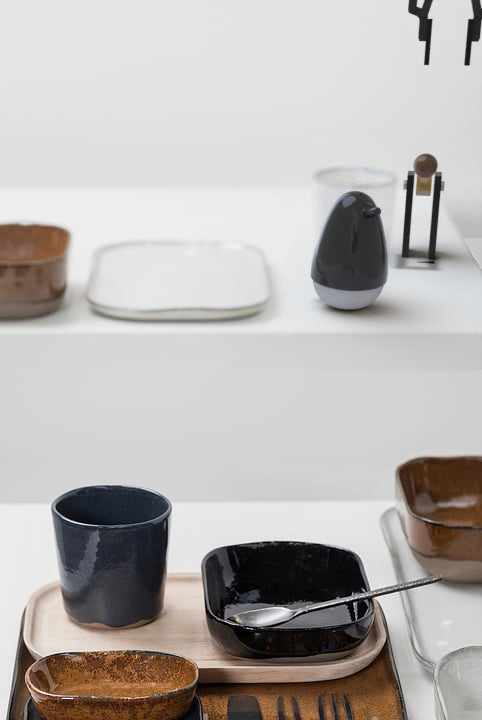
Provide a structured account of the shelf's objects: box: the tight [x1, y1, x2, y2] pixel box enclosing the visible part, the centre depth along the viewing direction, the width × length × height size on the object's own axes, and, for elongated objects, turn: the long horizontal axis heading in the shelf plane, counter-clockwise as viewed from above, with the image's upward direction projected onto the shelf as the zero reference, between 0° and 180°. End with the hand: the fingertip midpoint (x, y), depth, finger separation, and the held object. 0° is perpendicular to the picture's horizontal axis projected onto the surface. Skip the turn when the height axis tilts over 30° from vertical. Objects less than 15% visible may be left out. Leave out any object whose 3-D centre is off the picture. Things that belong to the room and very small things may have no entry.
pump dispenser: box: [310, 190, 389, 311], centre depth 143 cm, size 10×10×15 cm
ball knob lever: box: [412, 153, 439, 197], centre depth 158 cm, size 13×3×3 cm, turn 168°
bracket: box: [401, 170, 446, 265], centre depth 165 cm, size 8×6×14 cm
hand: (446, 64), depth 165 cm, fingers open, 5 cm apart
